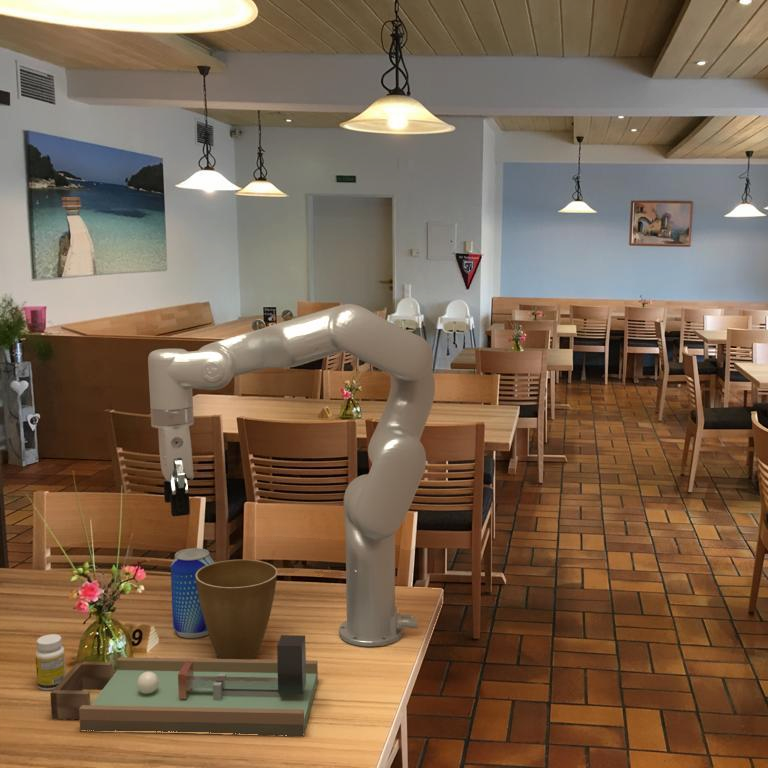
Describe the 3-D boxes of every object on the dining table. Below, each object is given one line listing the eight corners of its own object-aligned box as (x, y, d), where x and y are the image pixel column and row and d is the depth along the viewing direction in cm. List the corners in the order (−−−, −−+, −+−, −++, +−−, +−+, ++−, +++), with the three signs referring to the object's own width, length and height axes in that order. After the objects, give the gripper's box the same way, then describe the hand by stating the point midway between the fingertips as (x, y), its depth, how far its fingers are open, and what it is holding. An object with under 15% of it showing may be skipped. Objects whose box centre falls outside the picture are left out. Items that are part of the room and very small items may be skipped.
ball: (162, 687, 147) (161, 668, 147) (155, 698, 144) (154, 677, 143) (141, 687, 147) (140, 667, 147) (134, 697, 144) (133, 677, 143)
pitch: (317, 681, 153) (317, 656, 153) (303, 736, 136) (302, 708, 135) (120, 677, 155) (119, 652, 155) (80, 731, 137) (78, 704, 137)
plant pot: (216, 680, 154) (213, 593, 152) (186, 649, 166) (183, 567, 164) (292, 659, 162) (291, 576, 160) (259, 631, 174) (257, 553, 172)
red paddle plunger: (306, 686, 147) (305, 634, 145) (302, 701, 142) (301, 647, 141) (186, 684, 148) (184, 632, 146) (178, 698, 143) (176, 645, 142)
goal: (113, 686, 152) (112, 662, 151) (88, 720, 141) (87, 694, 140) (79, 686, 152) (78, 661, 152) (51, 719, 141) (50, 693, 140)
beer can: (221, 623, 178) (219, 547, 176) (209, 640, 170) (206, 561, 168) (181, 621, 179) (178, 545, 177) (167, 639, 171) (163, 560, 169)
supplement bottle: (42, 678, 155) (39, 633, 154) (69, 677, 155) (67, 632, 154) (33, 692, 150) (30, 645, 149) (62, 690, 151) (59, 644, 149)
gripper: (200, 423, 153) (205, 518, 156) (186, 408, 169) (190, 494, 172) (156, 426, 151) (161, 523, 153) (146, 411, 167) (151, 498, 169)
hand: (177, 508), depth 162 cm, fingers open, 9 cm apart
